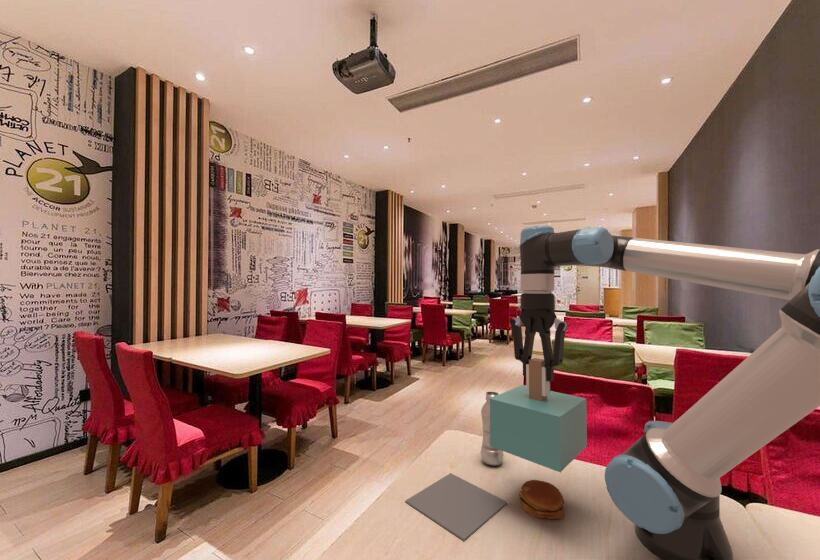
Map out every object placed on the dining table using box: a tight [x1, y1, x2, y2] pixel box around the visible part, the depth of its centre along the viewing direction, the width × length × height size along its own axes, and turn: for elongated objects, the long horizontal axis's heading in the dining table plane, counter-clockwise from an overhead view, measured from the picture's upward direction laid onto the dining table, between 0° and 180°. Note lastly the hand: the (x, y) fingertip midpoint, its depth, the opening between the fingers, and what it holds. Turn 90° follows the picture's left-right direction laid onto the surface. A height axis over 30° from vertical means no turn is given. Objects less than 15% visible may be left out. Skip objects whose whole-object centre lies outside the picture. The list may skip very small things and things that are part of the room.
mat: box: [404, 472, 508, 542], centre depth 80 cm, size 17×17×1 cm
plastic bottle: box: [480, 391, 505, 466], centre depth 98 cm, size 6×7×20 cm
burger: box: [518, 479, 565, 520], centre depth 79 cm, size 10×9×5 cm
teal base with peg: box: [490, 357, 588, 473], centre depth 79 cm, size 16×16×20 cm
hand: (538, 392), depth 79 cm, fingers closed on teal base with peg, 3 cm apart
